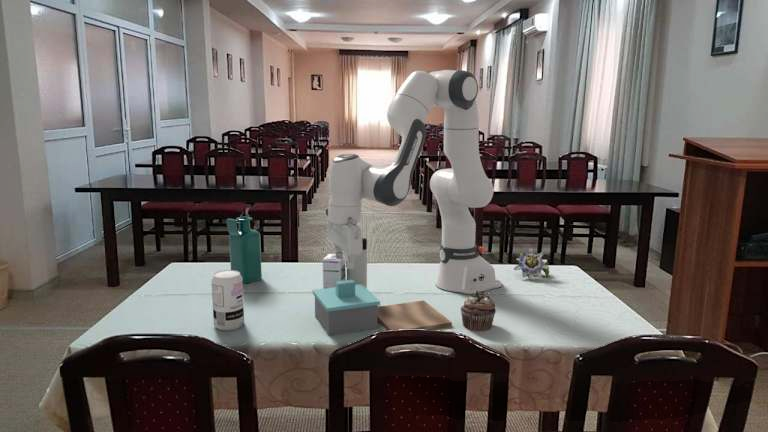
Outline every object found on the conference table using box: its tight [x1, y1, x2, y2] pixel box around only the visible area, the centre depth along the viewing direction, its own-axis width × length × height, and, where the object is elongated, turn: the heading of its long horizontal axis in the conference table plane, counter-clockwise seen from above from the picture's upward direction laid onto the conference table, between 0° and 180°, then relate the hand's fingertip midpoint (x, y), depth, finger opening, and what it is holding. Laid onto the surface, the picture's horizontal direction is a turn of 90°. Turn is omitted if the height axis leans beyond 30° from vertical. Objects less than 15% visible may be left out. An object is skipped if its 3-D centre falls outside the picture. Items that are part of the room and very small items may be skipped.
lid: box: [312, 279, 381, 312], centre depth 161 cm, size 15×15×6 cm
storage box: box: [314, 296, 379, 336], centre depth 163 cm, size 14×14×7 cm
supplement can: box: [211, 269, 245, 331], centre depth 159 cm, size 8×8×15 cm
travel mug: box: [346, 237, 368, 290], centre depth 179 cm, size 6×7×20 cm
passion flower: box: [513, 247, 550, 281], centre depth 205 cm, size 11×11×12 cm
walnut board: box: [377, 300, 453, 331], centre depth 166 cm, size 18×18×1 cm
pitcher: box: [225, 216, 263, 285], centre depth 196 cm, size 10×8×22 cm
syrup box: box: [322, 253, 347, 289], centre depth 178 cm, size 6×6×14 cm
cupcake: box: [460, 291, 497, 332], centre depth 161 cm, size 10×10×10 cm
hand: (344, 263), depth 159 cm, fingers open, 8 cm apart
